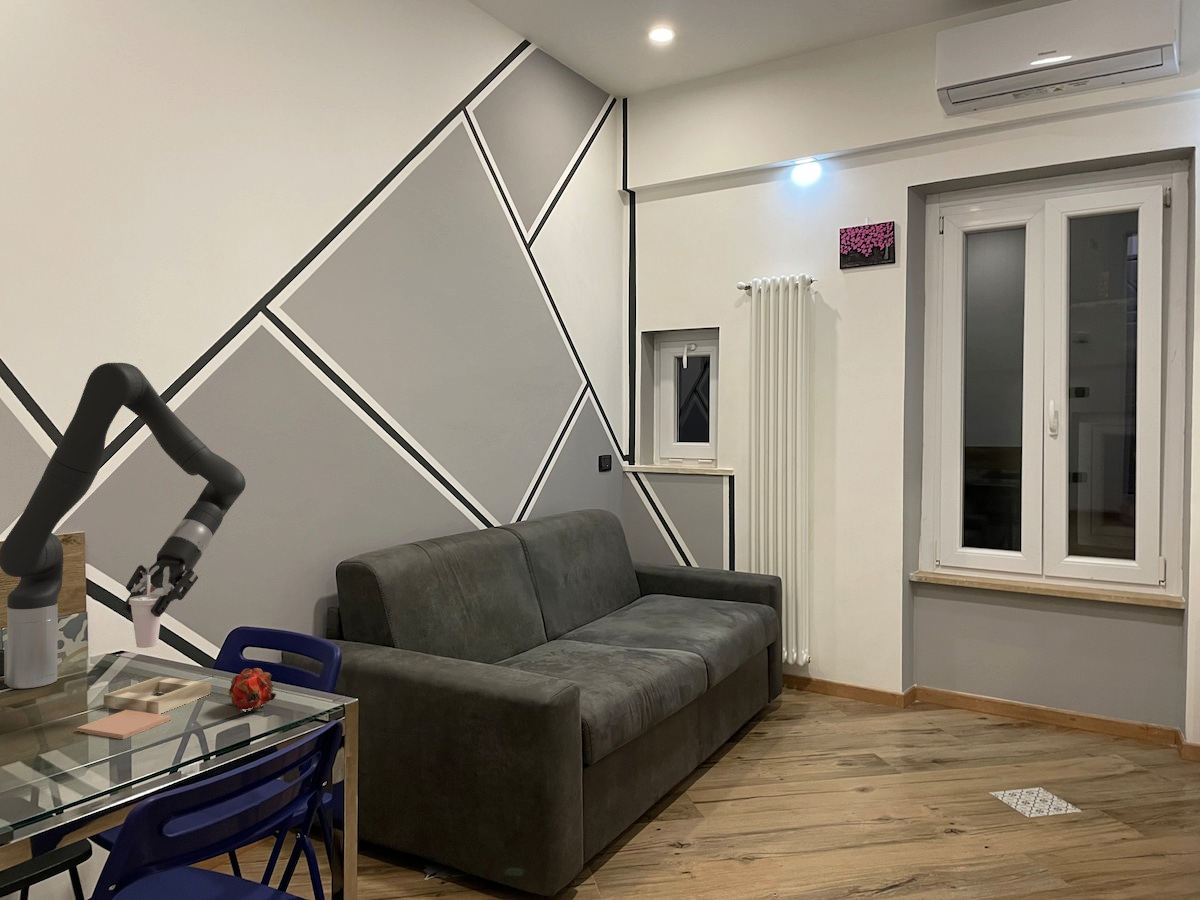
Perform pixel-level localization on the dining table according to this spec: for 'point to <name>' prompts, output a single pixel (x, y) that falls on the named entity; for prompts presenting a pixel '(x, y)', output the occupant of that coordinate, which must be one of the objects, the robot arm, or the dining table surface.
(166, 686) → the block
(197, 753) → the dining table surface
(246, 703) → the dragon fruit
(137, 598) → the smoothie
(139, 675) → the dining table surface
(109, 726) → the coaster
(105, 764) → the dining table surface
